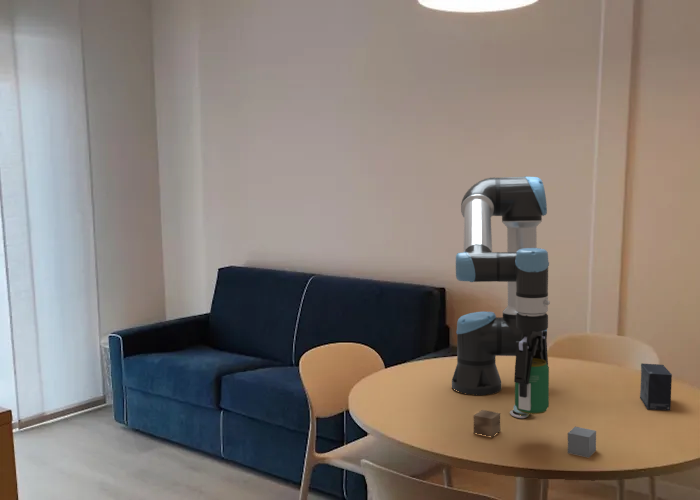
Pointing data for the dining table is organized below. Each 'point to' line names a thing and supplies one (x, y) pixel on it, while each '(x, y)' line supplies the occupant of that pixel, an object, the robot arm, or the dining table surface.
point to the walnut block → (487, 423)
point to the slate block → (582, 442)
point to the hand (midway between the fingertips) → (531, 403)
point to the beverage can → (537, 388)
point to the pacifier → (523, 415)
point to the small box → (655, 387)
